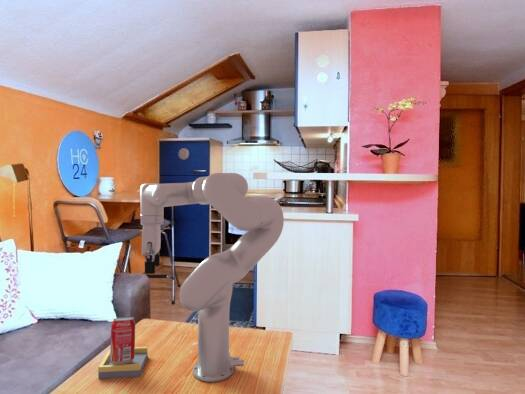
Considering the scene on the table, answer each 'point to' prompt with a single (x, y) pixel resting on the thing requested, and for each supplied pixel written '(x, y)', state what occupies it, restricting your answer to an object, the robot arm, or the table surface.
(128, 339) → the soda can
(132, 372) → the tray
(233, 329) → the table surface
